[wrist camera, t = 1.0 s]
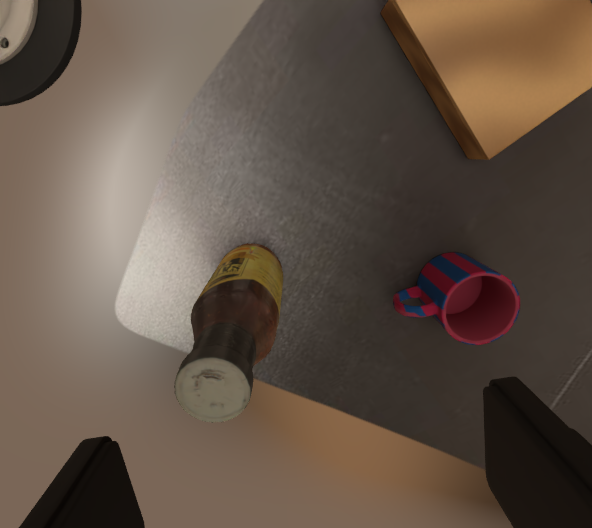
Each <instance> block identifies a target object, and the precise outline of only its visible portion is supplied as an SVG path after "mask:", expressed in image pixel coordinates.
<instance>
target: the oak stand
mask: <svg viewBox="0 0 592 528" xmlns="http://www.w3.org/2000/svg"><path fill="white" fill-rule="evenodd" d="M381 15H382V17H383V18H384V20H385V22H386V23H387V25H388V27H389V28H390V30H391V32H392V33H393V35H394V37H395V38H396V40H397V42H398V43H399V45H400V47H401V48H402V50H403V52H404V53H405V55H406V57H407V58H408V60H409V62H410V63H411V65H412V67H413V68H414V70H415V72H416V73H417V75H418V77H419V78H420V80H421V82H422V83H423V85H424V86H425V88H426V90H427V91H428V93H429V95H430V96H431V98H432V100H433V101H434V103H435V105H436V106H437V108H438V110H439V111H440V113H441V115H442V116H443V118H444V120H445V121H446V123H447V125H448V126H449V128H450V130H451V131H452V133H453V135H454V136H455V138H456V140H457V141H458V143H459V145H460V146H461V148H462V150H463V151H464V153H465V155H466V156H467V158H468V159H486V160H489V159H491V158H492V157H494V156H495V155H496V154H498V153H499V152H501V151H502V150H503V149H505V148H506V147H508V146H509V145H510V144H512V143H513V142H515V141H516V140H518V139H519V138H520V137H522V136H523V135H525V134H526V133H527V132H529V131H530V130H532V129H533V128H534V127H536V126H537V125H539V124H540V123H542V122H543V121H544V120H546V119H547V118H549V117H550V116H551V115H553V114H554V113H556V112H557V111H558V110H560V109H561V108H563V107H564V106H566V105H567V104H568V103H570V102H571V101H573V100H574V99H575V98H577V97H578V96H580V95H581V94H582V93H584V92H585V91H587V90H588V89H590V88H591V87H592V4H591V2H590V0H388V2H387V3H386V5H385V6H384V8H383V9H382V11H381Z"/></svg>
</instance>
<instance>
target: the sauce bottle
mask: <svg viewBox="0 0 592 528" xmlns="http://www.w3.org/2000/svg"><path fill="white" fill-rule="evenodd" d="M282 286H283V272H282V266H281V264H280V261H279V260H278V258H277V257H276V255H275V254H274V253H273V252H272V251H271V250H270V249H268V248H267V247H265V246H263V245H259V244H248V243H247V244H243V245H241V246H238V247H237V248H235V249H233V250H232V251H230V252H229V253H228V254H227V255H226V256H225V257H224V258H223V259H222V261H221V262H220V264H219V266H218V267H217V269H216V271H215V272H214V273H213V275H212V277H211V278H210V280H209V281H208V283H207V285H206V286H205V288H204V290H203V291H202V293H201V294H200V296H199V298H198V299H197V301H196V303H195V304H194V306H193V309H192V313H191V324H192V328H193V335H194V341H195V342H194V345H193V350H192V352H191V353H190V354H189V355H187V357H186V358H185V359H184V360H183V362H182V364H181V366H180V368H179V371H178V373H177V376H176V380H175V386H174V387H175V395H176V398H177V400H178V402H179V404H180V405H181V407H182V408H183V409H184V410H185V411H186V412H187V413H189V415H191V416H192V417H194V418H196V419H199V420H202V421H205V422H212V423H213V422H224V421H226V420H230V419H232V418H234V417H236V416H238V415H239V414H240V413H241V412H242V411H243V409H245V407H246V406H247V404H248V402H249V400H250V396H251V392H252V386H253V372H252V368H253V366H254V365H255V364H257V363H258V362H260V361H261V360H262V359H263V358H265V357H266V356H267V354H268V353H269V352H270V351H271V347H272V346H273V343H274V340H275V336H276V331H277V327H278V323H279V315H280V305H281V295H282Z"/></svg>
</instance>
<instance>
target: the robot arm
mask: <svg viewBox="0 0 592 528" xmlns="http://www.w3.org/2000/svg"><path fill="white" fill-rule="evenodd" d="M37 13H38V0H0V65H1V64H3V63H5V62H7V61H9V60H10V59H12V58H13V57H14V56H15V55H16V54H18V53H19V52H20V51H21V50H22V48H23V47H24V46H25V44H26V43H27V42H28V40H29V38H30V36H31V34H32V31H33V29H34V26H35V22H36V18H37ZM8 44H9V46H8ZM483 400H484V431H485V463H486V478H487V481H488V484H489V487H490V489H491V491H492V493H493V494H494V496H495V498H496V499H497V501H498V503H499V504H500V506H501V508H502V509H503V511H504V512H505V514H506V516H507V518H508V519H509V521H510V522H511V524H512V526H513V527H514V528H592V445H591V444H590V443H589V442H588V441H587V440H586V439H584V438H583V437H582V436H581V435H580V434H579V433H578V432H576V431H575V430H574V429H571V428H569V427H568V426H567V425H566V424H565V423H564V422H563V421H562V420H561V419H560V418H559V417H558V416H557V415H556V414H554V413H553V412H552V411H551V410H550V409H549V408H548V407H547V406H546V405H545V404H544V403H543V402H542V401H541V400H540V399H539V398H538V397H537V396H536V395H535V394H534V393H533V392H532V391H531V390H530V389H529V388H528V387H527V386H526V385H525V384H523V383H522V382H521V381H520V380H519V379H518V378H517V377H507V378H501V379H494V380H491V381H490V383H489V386H488V387H485V388H484V390H483ZM19 528H145V527H144V521H143V517H142V514H141V511H140V508H139V506H138V502H137V500H136V496H135V493H134V490H133V487H132V484H131V481H130V478H129V475H128V472H127V469H126V466H125V462H124V460H123V456H122V453H121V450H120V447H119V445H118V443H117V442H116V441H112V440H111V438H110V437H108V436H104V437H97V438H91V439H85V440H83V441H82V442H81V443H80V444H79V446H78V447H77V448H76V450H75V451H74V453H73V454H72V455H71V457H70V458H69V460H68V461H67V462H66V463H65V465H64V466H63V468H62V469H61V470H60V472H59V473H58V474H57V476H56V477H55V479H54V480H53V482H52V483H51V484H50V486H49V487H48V488H47V490H46V491H45V493H44V494H43V495H42V497H41V498H40V499H39V501H38V502H37V503H36V505H35V507H34V508H33V509H32V510H31V512H30V513H29V515H28V516H27V517H26V519H25V520H24V522H23V523H22V524H21V526H20V527H19Z"/></svg>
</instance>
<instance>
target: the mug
mask: <svg viewBox="0 0 592 528" xmlns="http://www.w3.org/2000/svg"><path fill="white" fill-rule="evenodd" d="M416 297H419V299H420V301H421V303H422V304H423V306H408V305H405V304H402V303H401V302H400V301H402V300H405V299H409V298H416ZM393 305H394V308H395V310H396V311H397V312H398V313H400V314H402V315H404V316H408V317H426V316H431V315H433V316H434V318H435V319H436V320H437V321H438V322H439V323H440V324H441V325H442V326H443V328H444V329H445V330H446V331H447V332H448V333H449V334H450V335H451V336H452V337H453V338H454V339H456V340H458V341H460V342H462V343H465V344H471V345H481V344H486V343H489V342H492V341H494V340H496V339H498V338H500V337H501V336H503V335H504V334H505V333H506V332H507V331H508V330H509V329H510V328H511V327H512V325H513V324H514V322H515V321H516V319H517V316H518V313H519V309H520V298H519V293H518V291H517V289H516V287H515V285H514V284H513V283H512V282H511V281H510V280H509V279H508V278H507V277H505V276H503V275H502V274H500V273H498V272H496V271H494V270H493V269H491V268H489V267H487V266H485V265H484V264H482V263H480V262H478V261H476V260H475V259H473V258H471V257H469V256H467V255H465V254H462V253H456V252H452V253H445V254H442V255H439V256H437V257H435V258H433V259H432V260H431V261H429V262H428V263H427V264H426V265H425V266H424V268H423V269H422V271H421V273H420V275H419V277H418V281H417V286H415V287H412V288H408V289H404V290H402V291H400V292H398V293H396V294H395V295H394V297H393Z"/></svg>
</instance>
